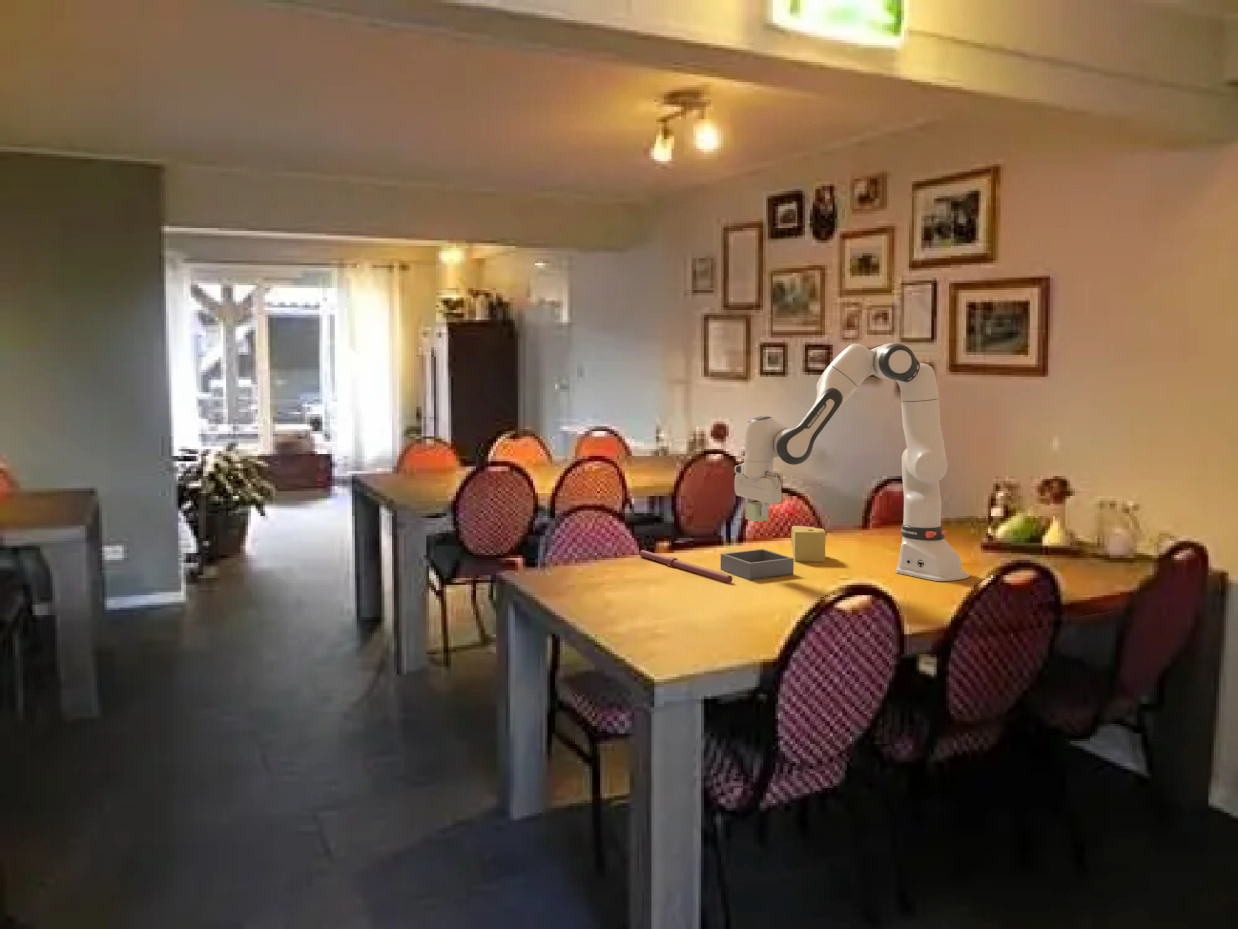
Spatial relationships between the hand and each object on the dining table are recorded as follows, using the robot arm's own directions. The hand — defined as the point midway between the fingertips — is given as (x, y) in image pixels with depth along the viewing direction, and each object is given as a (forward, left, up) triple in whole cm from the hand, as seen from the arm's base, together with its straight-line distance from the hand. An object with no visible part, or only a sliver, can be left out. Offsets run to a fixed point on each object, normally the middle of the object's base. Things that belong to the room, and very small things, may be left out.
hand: (757, 514), depth 308 cm
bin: (0, 0, -18) cm, 18 cm away
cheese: (+8, -26, -18) cm, 33 cm away
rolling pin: (+14, +18, -19) cm, 29 cm away
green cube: (0, 0, -2) cm, 2 cm away
